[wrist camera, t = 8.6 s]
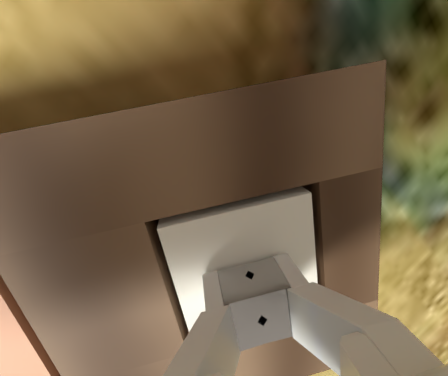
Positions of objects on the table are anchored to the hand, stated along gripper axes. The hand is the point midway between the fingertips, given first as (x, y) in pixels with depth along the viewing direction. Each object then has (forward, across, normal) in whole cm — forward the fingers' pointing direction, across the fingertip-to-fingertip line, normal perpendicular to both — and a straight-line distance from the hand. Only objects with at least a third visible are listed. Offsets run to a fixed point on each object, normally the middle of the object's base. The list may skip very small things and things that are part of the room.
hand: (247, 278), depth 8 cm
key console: (+4, +5, 0) cm, 6 cm away
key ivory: (+3, 0, 0) cm, 3 cm away
